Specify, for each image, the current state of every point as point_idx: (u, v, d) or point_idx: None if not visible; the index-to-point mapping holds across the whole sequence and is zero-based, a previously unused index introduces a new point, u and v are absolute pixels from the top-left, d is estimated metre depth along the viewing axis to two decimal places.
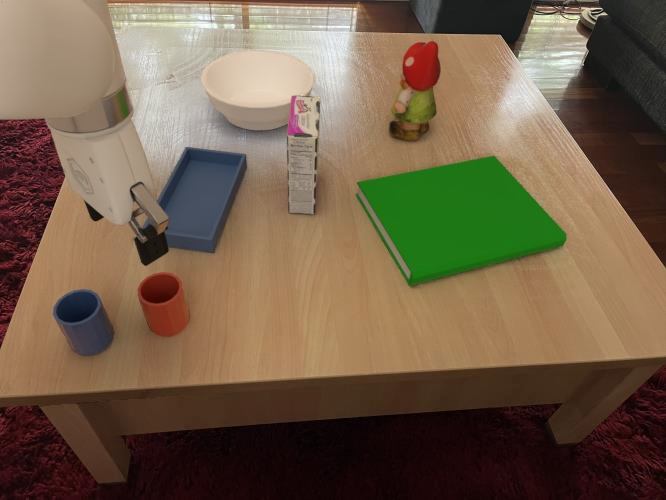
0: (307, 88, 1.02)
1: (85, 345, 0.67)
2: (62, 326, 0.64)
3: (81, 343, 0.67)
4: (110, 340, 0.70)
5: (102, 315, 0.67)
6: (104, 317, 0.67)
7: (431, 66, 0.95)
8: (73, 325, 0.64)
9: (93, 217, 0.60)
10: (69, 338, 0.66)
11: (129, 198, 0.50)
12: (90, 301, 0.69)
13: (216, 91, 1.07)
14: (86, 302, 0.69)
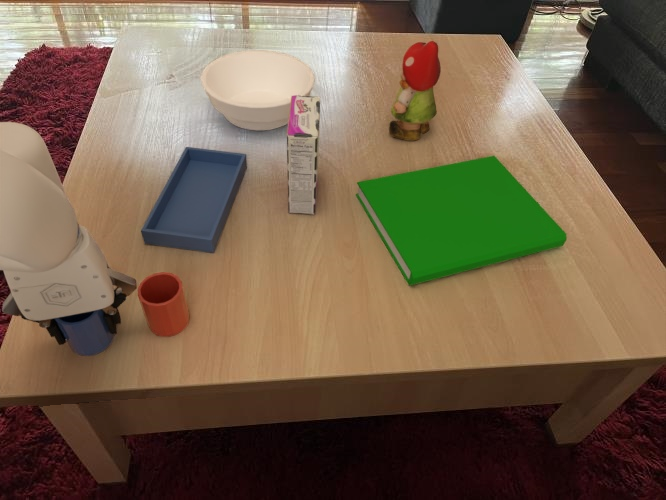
0: (307, 88, 1.02)
1: (85, 345, 0.67)
2: (62, 326, 0.64)
3: (81, 343, 0.67)
4: (110, 340, 0.70)
5: (102, 315, 0.67)
6: None
7: (431, 66, 0.95)
8: (73, 325, 0.64)
9: (63, 341, 0.67)
10: (69, 338, 0.66)
11: (110, 278, 0.63)
12: None
13: (216, 91, 1.07)
14: None
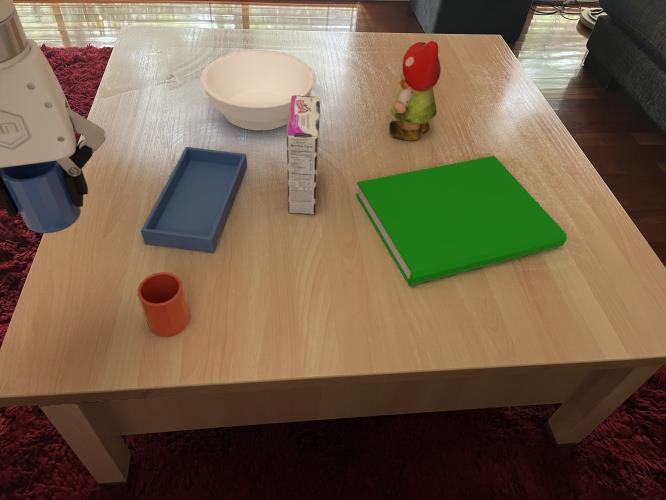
0: (307, 88, 1.02)
1: (42, 216, 0.53)
2: (10, 185, 0.51)
3: (36, 212, 0.53)
4: (75, 216, 0.56)
5: (63, 177, 0.53)
6: None
7: (431, 66, 0.95)
8: (23, 182, 0.50)
9: (14, 211, 0.54)
10: (21, 205, 0.52)
11: (69, 118, 0.49)
12: (49, 165, 0.55)
13: (216, 91, 1.07)
14: (44, 167, 0.55)
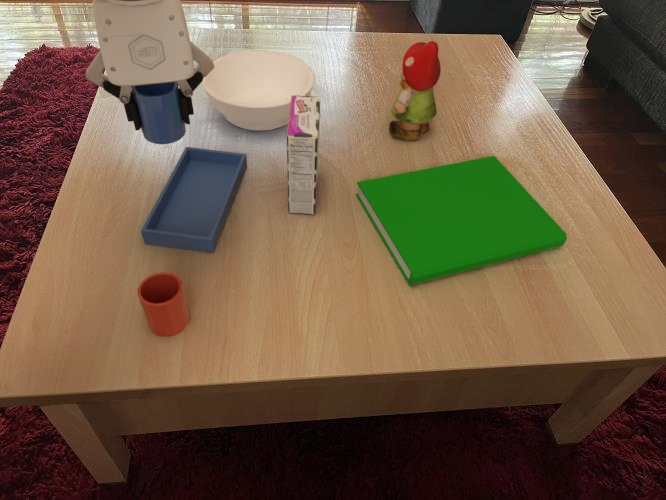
0: (307, 88, 1.02)
1: (161, 128, 0.68)
2: (142, 100, 0.65)
3: (158, 125, 0.67)
4: (183, 132, 0.71)
5: (178, 97, 0.67)
6: (180, 101, 0.68)
7: (431, 66, 0.95)
8: (153, 98, 0.65)
9: (139, 125, 0.68)
10: (146, 118, 0.67)
11: (191, 47, 0.63)
12: (165, 90, 0.69)
13: (216, 91, 1.07)
14: (160, 91, 0.70)
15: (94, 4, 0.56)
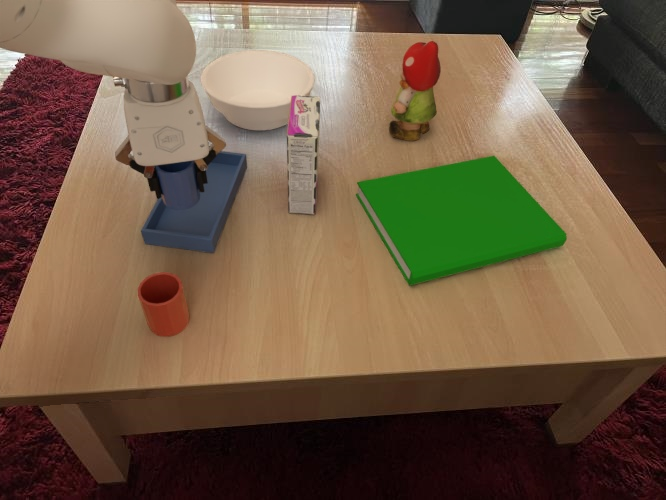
0: (307, 88, 1.02)
1: (179, 197, 0.77)
2: (163, 176, 0.75)
3: (176, 195, 0.77)
4: (198, 198, 0.80)
5: (195, 171, 0.77)
6: (196, 174, 0.78)
7: (431, 66, 0.95)
8: (173, 174, 0.74)
9: (160, 194, 0.78)
10: (167, 190, 0.76)
11: (206, 131, 0.73)
12: (182, 162, 0.79)
13: (216, 91, 1.07)
14: (178, 163, 0.79)
15: (125, 103, 0.66)
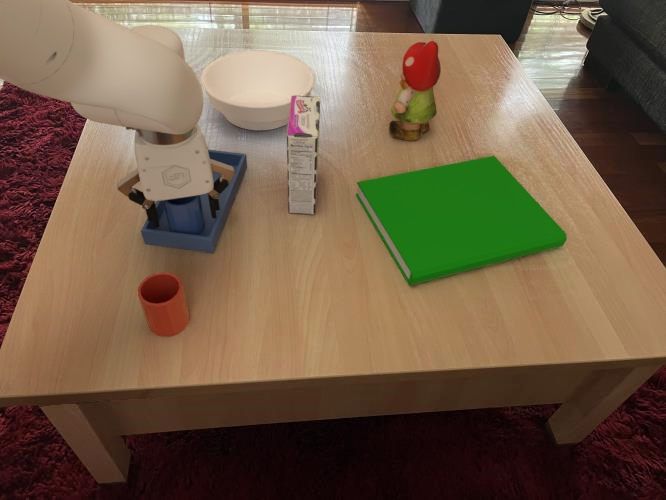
0: (307, 88, 1.02)
1: (185, 228, 0.82)
2: (170, 208, 0.79)
3: (183, 225, 0.81)
4: (203, 227, 0.85)
5: (200, 202, 0.81)
6: (201, 205, 0.82)
7: (431, 66, 0.95)
8: (179, 206, 0.79)
9: (157, 224, 0.81)
10: (173, 220, 0.81)
11: (211, 168, 0.77)
12: None
13: (216, 91, 1.07)
14: None
15: (136, 145, 0.70)
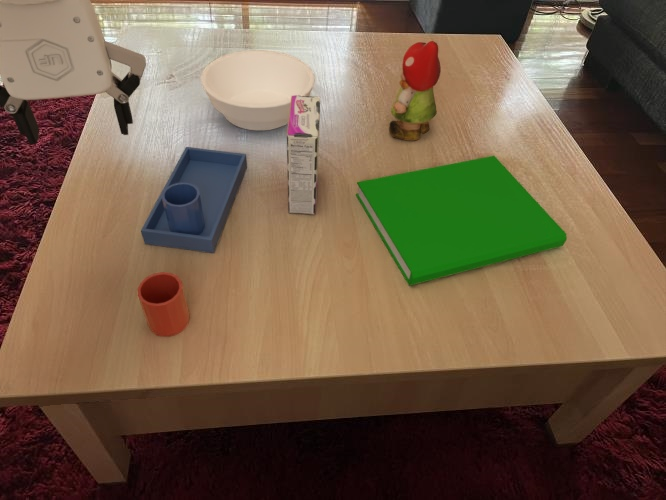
0: (307, 88, 1.02)
1: (185, 228, 0.82)
2: (170, 208, 0.79)
3: (183, 225, 0.81)
4: (203, 227, 0.85)
5: (200, 202, 0.81)
6: (201, 205, 0.82)
7: (431, 66, 0.95)
8: (179, 206, 0.79)
9: (34, 139, 0.58)
10: (173, 220, 0.81)
11: (107, 55, 0.54)
12: (188, 194, 0.83)
13: (216, 91, 1.07)
14: (184, 195, 0.84)
15: None
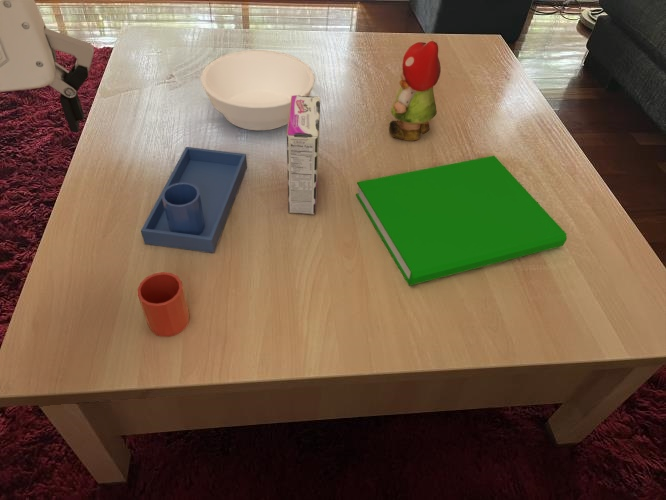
0: (307, 88, 1.02)
1: (185, 228, 0.82)
2: (170, 208, 0.79)
3: (183, 225, 0.81)
4: (203, 227, 0.85)
5: (200, 202, 0.81)
6: (201, 205, 0.82)
7: (431, 66, 0.95)
8: (179, 206, 0.79)
9: None
10: (173, 220, 0.81)
11: (48, 44, 0.48)
12: (188, 194, 0.83)
13: (216, 91, 1.07)
14: (184, 195, 0.84)
15: None
